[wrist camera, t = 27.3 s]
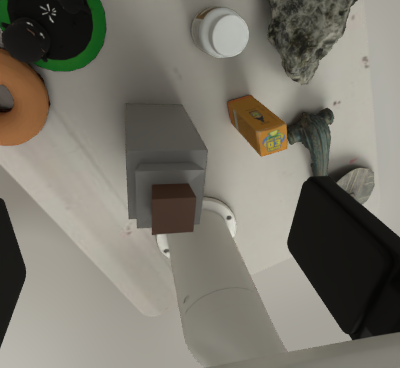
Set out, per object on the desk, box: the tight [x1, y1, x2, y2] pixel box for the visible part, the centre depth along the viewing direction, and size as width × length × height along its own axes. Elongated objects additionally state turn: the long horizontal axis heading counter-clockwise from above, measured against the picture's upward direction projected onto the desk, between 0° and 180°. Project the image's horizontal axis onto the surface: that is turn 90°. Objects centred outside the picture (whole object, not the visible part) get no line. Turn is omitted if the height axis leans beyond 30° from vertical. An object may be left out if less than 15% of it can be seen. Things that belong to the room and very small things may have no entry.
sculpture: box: [336, 168, 374, 205], centre depth 49 cm, size 12×9×8 cm
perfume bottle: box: [126, 104, 208, 235], centre depth 30 cm, size 7×7×18 cm
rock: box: [267, 0, 358, 85], centre depth 31 cm, size 12×8×10 cm
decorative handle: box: [287, 108, 334, 176], centre depth 42 cm, size 15×7×5 cm, turn 27°
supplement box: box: [227, 95, 287, 157], centre depth 34 cm, size 3×4×10 cm
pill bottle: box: [191, 7, 249, 58], centre depth 30 cm, size 4×4×8 cm
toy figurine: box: [0, 0, 106, 71], centre depth 27 cm, size 10×10×6 cm
